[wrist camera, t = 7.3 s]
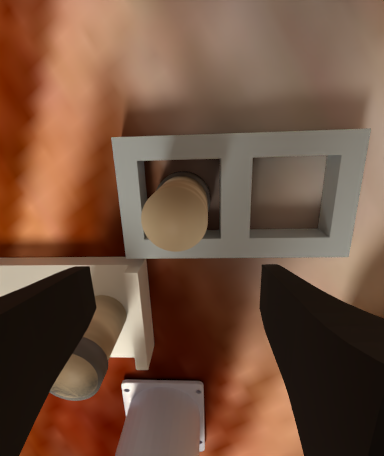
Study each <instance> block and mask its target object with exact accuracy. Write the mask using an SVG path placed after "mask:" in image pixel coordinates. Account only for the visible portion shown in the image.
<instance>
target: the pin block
mask: <svg viewBox="0 0 384 456" xmlns="http://www.w3.org/2000/svg"><path fill="white" fill-rule="evenodd" d="M370 132H371V128H370V129H341V130H312V131H283V132H253V133H224V134H195V135H166V136H137V137H111V139H112V147H113V155H114V164H115V172H116V180H117V188H118V196H119V205H120V213H121V221H122V229H123V238H124V246H125V254H126V259H158V258H301V257H349V252H350V247H351V241H352V235H353V230H354V224H355V218H356V212H357V207H358V201H359V195H360V189H361V184H362V178H363V172H364V167H365V161H366V155H367V149H368V144H369V138H370ZM324 155H327V160H326V168H325V176H324V184H323V192H322V199H321V207H320V215H319V223H318V228H312V229H250V212H251V188H252V164H253V158H255V157H290V156H324ZM186 159H220V202H219V230H206V232H205V235H204V236H203V238H202V239H201V240H200V242H199V243H198V244H196V245H195V246H194V247H192V248H190V249H188V250H185V251H179V252H172V251H167V250H164V249H161V248H159V247H157V246H156V245H155V244H153V243H152V242H151V241H150V240H149V239H148V237H147V236H146V234H145V232H144V230H143V227H142V223H141V214H142V209H143V207H144V204H145V203H146V201H147V191H146V180H145V168H144V161H151V160H186Z"/></svg>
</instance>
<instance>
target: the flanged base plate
mask: <svg viewBox="0 0 384 456" xmlns="http://www.w3.org/2000/svg"><path fill="white" fill-rule="evenodd" d="M75 266H90V272H91V278H92V284H93V289H94V295H95V296H99V295H105V296H110V297H113V298H115V299H116V300H118V301H119V302H120V303H121V304H122V305H123V306H124V308H125V310H126V314H127V318H126V322H125V324H124V326H123V329H122V331H121V333H120V335H119V338H118V340H117V342H116V344H115V346H114V349H113V351H112V353H111V355H110V357H135V364H136V370H148V369H149V365H150V361H151V357H152V353H153V349H154V335H153V324H152V313H151V303H150V292H149V282H148V271H147V260H146V259H126V257H25V258H0V297H1V296H4V295H6V294H8V293H11V292H13V291H16V290H18V289H21V288H23V287H26V286H28V285H30V284H32V283H35V282H37V281H39V280H42V279H44V278H46V277H48V276H51V275H53V274H55V273H58V272H60V271H63V270H65V269H68V268H71V267H75Z"/></svg>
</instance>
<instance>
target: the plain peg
mask: <svg viewBox="0 0 384 456" xmlns="http://www.w3.org/2000/svg"><path fill="white" fill-rule="evenodd" d="M95 301H96V307H97V308H96V311H95V313H94V316H93V318H92V320H91V322H90V325H89V327H88V329H87V331H86V332H85V334H84V336H83V337H82V339H81V341H80V342H79V344H78V346H77V347H76V349H75V350H74V352H73V354H72V355H71V357H70V358H69V360H68V362H67V363H66V365H65V366H64V368H63V370H62V371H61V373H60V374H59V376H58V378H57V379H56V381H55V383H54V385H53V386H52V388H51V390H50V393H51V394H53V395H55V396H57V397H59V398H62V399H66V400H73V401H78V400H84V399H87V398H90V397H92V396H93V395H94V394H96V393H97V391H98V390H99V388H100V386H101V383H102V381H103V379H104V377H105V374H106V372H107V369H108V360H109V358H110V355H111V353H112V351H113V349H114V346H115V344H116V342H117V340H118V338H119V335H120V333H121V331H122V329H123V326H124V324H125V322H126V318H127V314H126V310H125V308H124V306H123V305H122V304H121V303H120V302H119V301H118V300H116V299H115V298H113V297H110V296H105V295H99V296H95Z"/></svg>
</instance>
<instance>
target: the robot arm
mask: <svg viewBox="0 0 384 456" xmlns="http://www.w3.org/2000/svg"><path fill="white" fill-rule="evenodd" d="M96 308H97V307H96V301H95V295H94V289H93V284H92V278H91V272H90V266H75V267H71V268H68V269H65V270H63V271H60V272H58V273H55V274H53V275H51V276H48V277H46V278H44V279H42V280H39V281H37V282H35V283H32V284H30V285H28V286H26V287H23V288H21V289H18V290H16V291H13V292H11V293H8V294H6V295H4V296H1V297H0V456H19V455H20V452H21V450H22V448H23V446H24V444H25V442H26V439H27V437H28V435H29V433H30V431H31V429H32V426H33V424H34V422H35V420H36V418H37V416H38V414H39V412H40V410H41V408H42V406H43V404H44V402H45V400H46V398H47V396H48V394H49V392H50V390H51V388H52V386H53V385H54V383H55V381H56V379H57V378H58V376H59V374H60V373H61V371H62V370H63V368H64V366H65V365H66V363H67V362H68V360H69V358H70V357H71V355H72V354H73V352H74V350H75V349H76V347H77V346H78V344H79V342H80V341H81V339H82V337H83V336H84V334H85V332H86V331H87V329H88V327H89V325H90V322H91V320H92V318H93V316H94V313H95V311H96ZM260 312H261V316H262V321H263V325H264V329H265V332H266V335H267V338H268V340H269V343H270V346H271V348H272V351H273V354H274V356H275V359H276V362H277V364H278V367H279V370H280V372H281V375H282V378H283V380H284V383H285V386H286V389H287V392H288V395H289V399H290V403H291V406H292V410H293V414H294V418H295V421H296V425H297V429H298V433H299V437H300V441H301V445H302V449H303V453H304V456H384V319H383V318H380V317H378V316H375V315H373V314H370V313H368V312H365V311H363V310H361V309H358V308H356V307H354V306H352V305H349V304H347V303H345V302H343V301H341V300H339V299H337V298H335V297H333V296H331V295H329V294H327V293H325V292H324V291H322V290H320V289H318V288H316V287H315V286H313V285H311V284H310V283H308V282H306V281H305V280H303V279H301V278H300V277H298V276H296V275H295V274H293V273H292V272H290V271H288V270H287V269H285V268H283V267H282V266H280V265H278V264H266V265H262V274H261V292H260ZM121 387H122V393H123V400H124V406H125V413H126V420H125V423H124V427H123V430H122V433H121V437H120V440H119V444H118V447H117V451H116V454H115V456H199V452H202V451H204V450H205V427H204V385H203V383H202V382H201V381H180V380H130V379H127V380H123V382H122V385H121Z"/></svg>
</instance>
